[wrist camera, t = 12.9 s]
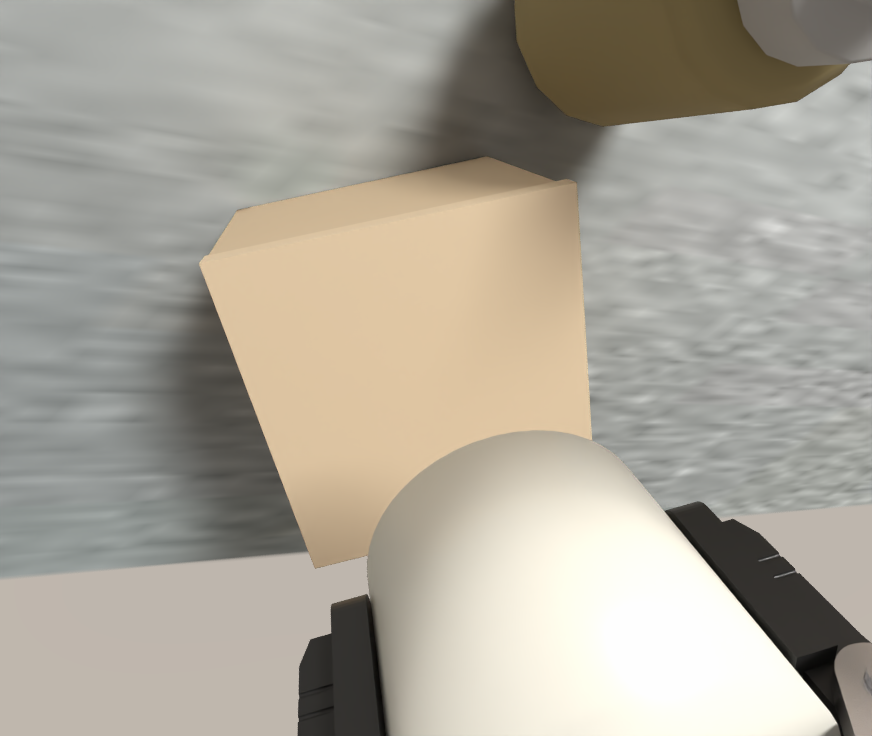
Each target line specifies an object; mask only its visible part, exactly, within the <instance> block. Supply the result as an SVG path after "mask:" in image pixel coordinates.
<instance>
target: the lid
mask: <svg viewBox="0 0 872 736" xmlns="http://www.w3.org/2000/svg"><path fill="white" fill-rule="evenodd" d="M199 265H200V268H201V270H202V273H203V275H204V278H205V281H206V283H207V286H208V289H209V291H210V294H211V297H212V299H213V302H214V304H215V307H216V310H217V312H218V315H219V318H220V320H221V323H222V325H223V328H224V331H225V333H226V336H227V339H228V341H229V344H230V346H231V349H232V352H233V354H234V357H235V360H236V362H237V365H238V368H239V370H240V373H241V375H242V378H243V381H244V383H245V386H246V389H247V391H248V394H249V396H250V399H251V402H252V404H253V407H254V410H255V412H256V415H257V417H258V420H259V423H260V425H261V428H262V431H263V433H264V436H265V439H266V441H267V444H268V446H269V449H270V452H271V454H272V457H273V460H274V462H275V465H276V467H277V470H278V473H279V475H280V478H281V481H282V483H283V486H284V489H285V491H286V494H287V496H288V499H289V502H290V504H291V507H292V510H293V512H294V515H295V517H296V520H297V523H298V525H299V528H300V531H301V533H302V536H303V538H304V541H305V544H306V546H307V549H308V552H309V554H310V557H311V560H312V562H313V565H314V567H315V569H316V568H320V567H324V566H327V565H332V564H336V563H340V562H344V561H348V560H351V559H355V558H360V557H364V556H368V553H369V546H370V543H371V540H372V537H373V534H374V531H375V529H376V527H377V525H378V523H379V521H380V519H381V517H382V515H383V513H384V512H385V510H386V509H387V507H388V506H389V504H390V503H391V502H392V500H393V499H394V498H395V497H396V496H397V494H398V493H399V492H400V491H401V490H402V489H403V488H404V486H405V485H407V484H408V483H409V482H410V481H411V480H412V479H413V478H414V477H415V476H417V475H418V474H419V473H420V472H421V471H423V470H424V469H426V468H427V467H428V466H430V465H431V464H433V463H434V462H435V461H437V460H439V459H440V458H442V457H444V456H446V455H447V454H449V453H451V452H453V451H455V450H457V449H459V448H461V447H464V446H466V445H468V444H471V443H473V442H476V441H479V440H482V439H486V438H489V437H492V436H496V435H501V434H506V433H511V432H518V431H531V430H542V431H557V432H563V433H569V434H574V435H577V436H580V437H583V438H586V439H589V440H591V441H592V433H591V416H590V399H589V382H588V365H587V348H586V331H585V314H584V297H583V280H582V263H581V246H580V229H579V212H578V195H577V183H576V182H574V181H571V180H569V179H564V180H559V181H554V182H550V183H545V184H540V185H536V186H531V187H526V188H522V189H517V190H512V191H508V192H503V193H498V194H493V195H489V196H484V197H479V198H475V199H470V200H465V201H461V202H456V203H451V204H447V205H442V206H437V207H432V208H428V209H423V210H418V211H414V212H409V213H404V214H400V215H395V216H390V217H386V218H381V219H376V220H372V221H367V222H362V223H357V224H353V225H348V226H343V227H339V228H334V229H329V230H325V231H320V232H315V233H311V234H306V235H301V236H296V237H292V238H287V239H282V240H278V241H273V242H268V243H264V244H259V245H254V246H250V247H245V248H240V249H236V250H231V251H226V252H221V253H217V254H212V255H207V256H204V258H203V259H202V260H201V261H200V263H199Z"/></svg>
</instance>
